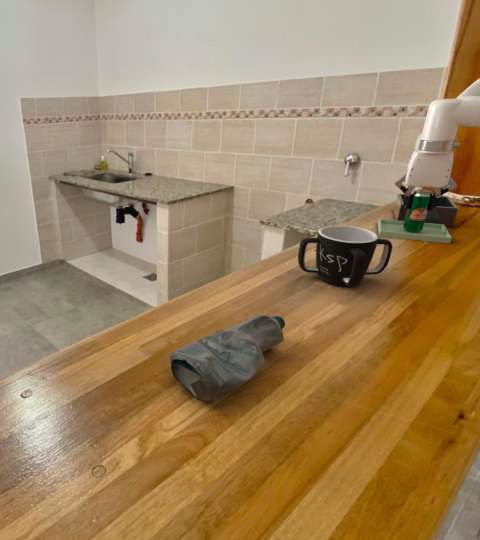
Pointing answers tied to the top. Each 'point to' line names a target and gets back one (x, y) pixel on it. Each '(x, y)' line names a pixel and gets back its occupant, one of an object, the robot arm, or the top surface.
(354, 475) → the top surface
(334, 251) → the mug
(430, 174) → the robot arm
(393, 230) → the tray
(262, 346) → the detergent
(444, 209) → the dark grey open box
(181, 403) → the top surface
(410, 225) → the soda can
